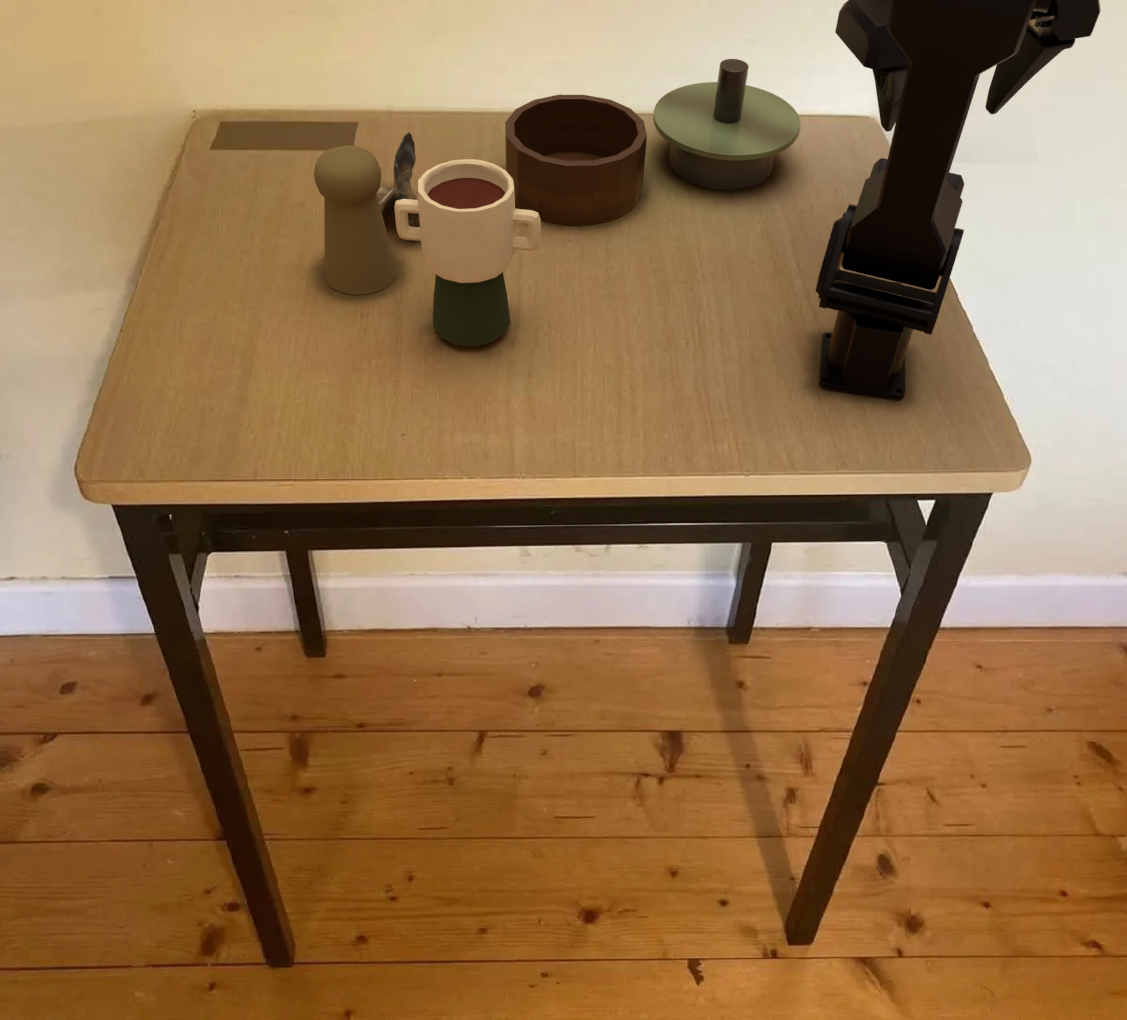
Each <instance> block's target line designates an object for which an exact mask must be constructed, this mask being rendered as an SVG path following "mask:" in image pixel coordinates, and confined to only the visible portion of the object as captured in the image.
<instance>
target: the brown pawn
mask: <svg viewBox="0 0 1127 1020" xmlns="http://www.w3.org/2000/svg"><path fill="white" fill-rule="evenodd" d="M313 177H314V183H315V185H316V187H317V189H318V192H319V194H320V195H321V196H322V197H323V198H324V199H323V201H324V205H323V206H324V207H323V210H324V211H323V212H324V214H323V215H324V217H323V218H324V221H323V223H324V224H323V225H324V227H323V230H324V231H323V232H324V233H323V234H324V235H323V236H324V237H323V238H324V239H323V240H324V241H323V242H324V249H323V250H324V253H323V255H324V263H323V264H324V279H325V282H326V284H327V285H328V286H329V287H330V288H331V289H333V290H335V291H337V292H339V293H342V294H347V295H352V296H355V295H356V296H359V295H361V296H363V295H369V294H373V293H377V292H379V291H383V290H384V289H385V288H387V287H389V285H391V284H392V283H393V282H394V280H395V278H396V277H397V266H396V263H395V259H394V254H393V251H392V247H391V243H390V239H389V236H388V232H387V229H386V224H385V221H384V217H383V212H381V208H380V205H379V201H378V197H377V191H378V190H379V188H380V187H381V183H382V169H381V166H380V162H379V161H378V159H377V158H376V156H375V155H374V154H373V153H372V152H371V151H370V150H368V149H366V148H364V147H361V146H356V145H340V146H335V147H332V148H329V149H327V150H326V151H324V152H323V153H321V154H320V155H319V156H318V158H317V160H316V162H315V165H314V171H313Z"/></svg>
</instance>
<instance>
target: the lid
mask: <svg viewBox="0 0 1127 1020" xmlns="http://www.w3.org/2000/svg"><path fill="white" fill-rule="evenodd" d="M748 73H749V64H748V63H747V62H746V61H744V60H742V59H738V58H727V59H723V60H722V61H721V62H720V63H719V69H718V75H717V76H718V77H717V81H709V82H708V81H707V82H698V83H691V84H688V85H687V84H686V85H683V86H680V87H678V88H675V89H673V90H670V91H669V92H667V93H665V94H664V95H663V96H662V97H661V98H660V99H659V100H657V102H656V104H655V105H654V108H653V114H652V121H653V126H654V127H655V129H656V131H657V133H658V134H659V135H660V136H661V137H662V138H663V139H664V140H666V141H667V142H668V143H670V145H671V144H673V145H674V146H676V147H678V148H680V149H682V150H684V151H687V152H690V153H692V154H696V155H699V156H703V157H708V158H713V159H720V160H733V161H735V160H754V159H760V158H765V157H769V156H772V155H775V156H776V155H778V154H780V153H782V152H784V151H786V150H787V149H788V148H790V147H791V146H793V144H795V142H796V141H797V139H798V138H799V136H800V132H801V126H802V124H801V119H800V116H799V113H798V112H797V111H796V109H795V108H794V107H793V106H792V105H791V104H790V103H789V102H788V101H786V100H785V99H784V98H782V97H780V96H779V95H777V94H774V93H772V92H770V91H768V90H765V89H762V88H759V87H755V86H752V85H748V84H747V80H748V75H749V74H748Z"/></svg>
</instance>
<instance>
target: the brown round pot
mask: <svg viewBox="0 0 1127 1020" xmlns="http://www.w3.org/2000/svg"><path fill="white" fill-rule="evenodd" d="M504 130H505V131H504V132H505V133H504V134H505V138H504V139H505V141H504V142H505V143H504V144H505V170H506V172H507V173H508V174H509V175H510V176H511V177H512V179H513V183H514V192H515V208H517V209H523V210H533V211H535V212H538V214H539V216H540V219H541V221H543V222H547V223H550V224H556V225H563V226H591V225H597V224H602V223H606V222H607V223H608V222H610V221H613V220H615V219H619V218H621V217H622V216H624V215H625V214H627V213H629V212H630V211H632V209H633V208H634V207H635V206H636V205H637V203H638V202H639V200H640V198H641V194H642V191H643V187H644V176H645V175H644V174H645V165H646V153H647V140H648V133H647V129H646V124H645V121H644V119H642V118H641V117H640V116H639V115H638V114H637V113H636V112H635V111H634V110H633V109H632V108H631V107H628V106H626V105H624V104H621V103H619V102H617V101H615V100H612V99H609V98H603V97H599V96H594V95H588V94H555V95H550V96H546V97H541V98H540V97H539V98H536V99H532V100H531V101H529V102H527V103H524V104H523V105H520V106H519V107H517V108H515V109H514V110H513V112H512V113H511V114H510V116H508V118H507V119H506V121H505V122H504Z"/></svg>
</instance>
